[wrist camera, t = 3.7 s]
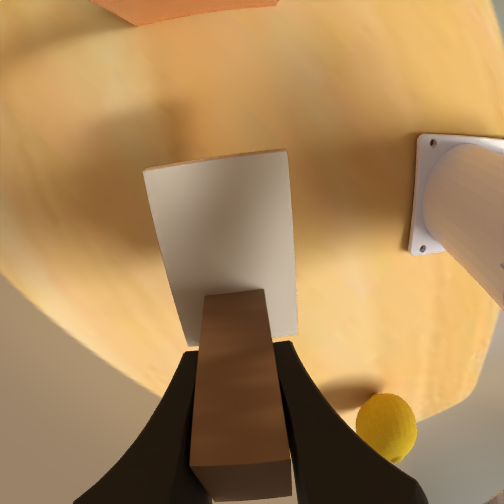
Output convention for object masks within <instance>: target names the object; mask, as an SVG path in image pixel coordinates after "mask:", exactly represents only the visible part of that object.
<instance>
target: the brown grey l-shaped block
mask: <svg viewBox="0 0 504 504" xmlns="http://www.w3.org/2000/svg"><path fill="white" fill-rule="evenodd" d="M143 176H144V181H145V186H146V191H147V195H148V200H149V204H150V209H151V213H152V218H153V222H154V226H155V230H156V234H157V238H158V242H159V246H160V250H161V254H162V258H163V262H164V266H165V270H166V273H167V277H168V281H169V284H170V288H171V291H172V295H173V298H174V302H175V305H176V309H177V312H178V315H179V319H180V322H181V325H182V329H183V332H184V335H185V338H186V341H187V344H188V347H192V346H199V352H198V363H197V373H196V384H195V396H194V408H193V421H192V434H191V449H190V465H189V466H190V468H191V469H192V471H193V472H194V474H195V475H196V477H197V478H198V479H199V481H200V482H201V484H202V485H203V487H204V488H205V489H206V491H207V492H208V493H209V495H210V496H211V497H212V499H213V500H214V501H215V502H224V501H245V500H258V499H269V498H277V497H286V496H292V481H291V458H290V451H289V445H288V438H287V432H286V425H285V419H284V412H283V406H282V399H281V393H280V387H279V380H278V374H277V367H276V361H275V355H274V348H273V342H272V338H276V337H284V336H291V335H298V318H297V293H296V272H295V253H294V236H293V220H292V205H291V191H290V178H289V166H288V154H287V151H286V150H285V149H276V150H266V151H257V152H248V153H240V154H232V155H224V156H217V157H210V158H203V159H197V160H190V161H184V162H178V163H172V164H167V165H161V166H156V167H150V168H146V169H145V170H144V171H143Z"/></svg>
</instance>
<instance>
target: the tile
mask: <svg viewBox="0 0 504 504" xmlns="http://www.w3.org/2000/svg"><path fill="white" fill-rule="evenodd" d="M89 1H91V2H93V3H95V4H97V5H99V6H101V7H103V8H105V9H106V10H108V11H110V12H112V13H114V14H116V15H118V16H119V17H121V18H123V19H125V20H127V21H128V22H130V23H132V24H134V25H135V26H137V27H138V26H142V25H146V24H150V23H154V22H159V21H163V20H168V19H173V18H178V17H183V16H188V15H194V14H200V13H207V12H214V11H222V10H230V9H240V8H252V7H267V6H276V4H277V3H278V1H279V0H89Z"/></svg>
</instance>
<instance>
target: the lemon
mask: <svg viewBox="0 0 504 504" xmlns="http://www.w3.org/2000/svg"><path fill="white" fill-rule="evenodd" d="M356 432H357V435H358V436H359V437H360V438H361V439H362V440H363V441H365V442H366V443H367V444H368V445H369V446H370V447H372V448H373V449H374V450H375V451H376V452H377V453H378V454H380V455H381V456H382V457H383V458H385V459H386V460H387V461H389V462H393V463H399V462H400V461H402V459H403V457H404V456H405V455H406V454H407V453H408V452H409V451H410V450H411V449H412V447H413V445H414V443H415V440H416V437H417V427H416V421H415V417H414V414H413V412H412V410H411V408H410V406H409V405H408V404H407V403H406V402H405V401H404V400H403V399H402V398H401V397H399V396H397V395H394V394H377V393H375V394H373V395H372V396H371V398H370V399H369V400H367V401H366V402H365V403H364V404H363V406H362V407H361V409H360V410H359V412H358V415H357V419H356Z"/></svg>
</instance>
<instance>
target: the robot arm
mask: <svg viewBox="0 0 504 504" xmlns="http://www.w3.org/2000/svg"><path fill="white" fill-rule="evenodd" d="M432 139H433V145H432V146H430V141H431V140H432ZM421 246H423V248H422V249H420V247H421ZM408 251H409V253H410V254H411V255H412V256H419V255H425V254H432V253H438V252H444V251H447V252H448V253H449V254H451V255H452V256H453V257H454V258H455V259H456V260H457V261H458V262H459V263H460V264H461V265H462V266H463V267H464V268H465V269H466V270H467V272H468V273H469V274H470V275H471V276H472V277H473V278H474V279H475V280H476V281H477V282H478V283H479V284H480V285H481V286H482V287H483V288H484V289H485V290H486V292H487V293H488V294H489V295H490V296H491V297H492V298H493V299H494V300H495V302H496V303H497V304H498V305H499V306H500V307H501V308H502V309H503V311H504V139H498V138H488V137H477V136H463V135H446V134H421V135H420V136H419V137H418V139H417V154H416V174H415V189H414V201H413V212H412V221H411V230H410V238H409V245H408ZM273 348H274V355H275V361H276V367H277V374H278V380H279V387H280V393H281V399H282V406H283V412H284V419H285V425H286V432H287V438H288V445H289V450H290V454H291V459H292V464H293V470H294V477H295V485H296V492H297V499H298V504H428V500H427V498H426V495H425V494H424V492H423V490H422V488H421V486H420V485H419V483H418V482H417V481H416V480H415V479H414V478H412V477H410V476H409V475H407V474H406V473H404V472H403V471H401V470H400V469H398V468H397V467H396V466H394V465H393V464H391V463H390V462H389V461H387V460H386V459H385V458H383V457H382V456H381V455H380V454H378V453H377V452H376V451H375V450H374V449H373V448H372V447H370V446H369V445H368V444H367V443H366V442H365V441H363V440H362V439H361V438H360V437H359V436H358V435H357V434H356V433H355V432H354V431H353V430H352V429H351V428H350V427H349V426H348V425H347V424H346V423H345V422H344V420H343V419H342V418H341V417H340V416H339V415H338V414H337V413H336V411H335V410H334V409H333V408H332V407H331V405H330V404H329V403H328V401H327V400H326V399H325V398H324V396H323V395H322V394H321V392H320V391H319V389H318V388H317V386H316V385H315V383H314V382H313V380H312V379H311V378H310V376H309V374H308V373H307V371H306V369H305V368H304V366H303V364H302V363H301V361H300V359H299V357H298V355H297V353H296V351H295V348H294V346H293V343H292V342H291V341H282V342H275V343H273ZM198 352H199V351H186V352H185V353H184V354H183V356H182V358H181V361H180V363H179V365H178V367H177V370H176V372H175V374H174V376H173V378H172V380H171V382H170V384H169V386H168V388H167V390H166V392H165V394H164V396H163V398H162V399H161V401H160V403H159V405H158V406H157V408H156V410H155V411H154V413H153V415H152V416H151V418H150V420H149V421H148V423H147V424H146V426H145V427H144V429H143V430H142V432H141V433H140V435H139V436H138V437H137V439H136V440H135V441H134V443H133V444H132V445H131V446H130V448H129V449H128V450H127V451H126V453H125V454H124V455H123V456H122V457H121V458H120V460H119V461H118V462H117V463H116V464H115V465H114V466H113V467H112V468H111V469H110V470H109V471H108V472H107V473H106V474H105V475H104V476H103V477H102V478H101V479H100V480H99V481H98V482H97V483H96V484H95V485H93V486H92V487H91V488H90V489H89V490H87V491H86V492H85V493H84V494H82V495H81V496H80V497H79V498H77V499H76V500H75V501H74V502H73V504H212V497H211V496H210V495H209V493H208V492H207V491H206V489H205V488H204V487H203V485H202V484H201V482H200V481H199V479H198V478H197V477H196V475H195V474H194V472H193V471H192V469H191V468H190V466H189V465H190V449H191V434H192V421H193V408H194V396H195V384H196V373H197V363H198ZM484 504H504V490H503V491H501V492H499V493H498V494H497V495H495V496H493V497H492V498H491V499H489V500H488V501H487V502H485V503H484Z"/></svg>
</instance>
